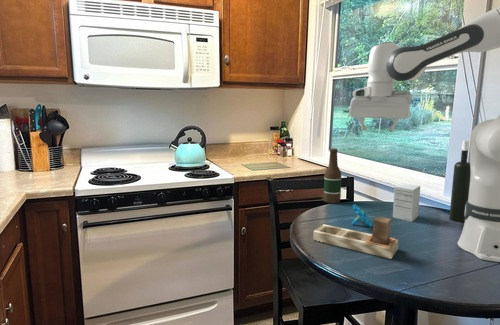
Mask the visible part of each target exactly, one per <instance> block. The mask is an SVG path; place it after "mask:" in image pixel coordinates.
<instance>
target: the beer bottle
mask: <svg viewBox="0 0 500 325" xmlns="http://www.w3.org/2000/svg"><path fill="white" fill-rule="evenodd" d="M338 152H339V150H338V148H329V161H328V167H327V168H326V170H325V172H324V176H323V178H324V180H323V202H324V203H327V204H340V202H341V196H342V193H341V192H342V172H341V171H342V170H340V168H339V165H338Z"/></svg>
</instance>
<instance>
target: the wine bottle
mask: <svg viewBox="0 0 500 325" xmlns="http://www.w3.org/2000/svg"><path fill="white" fill-rule="evenodd" d="M469 149H470V141H468V140H462V143H461V154H460V161H458V162H456V163H455V164H454V166H453V177H452V184H451V185H452V186H451V195H450V196H451V197H450V207H449V208H450V209H449V221H453V222H456V223H457V222H458V223H465V216H464V215H465V205H466V202H467V200H468V197H469V187H470V176H471V170H470V162H469V161H468V156H469V151H470V150H469Z"/></svg>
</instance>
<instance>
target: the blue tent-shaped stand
mask: <svg viewBox="0 0 500 325" xmlns="http://www.w3.org/2000/svg"><path fill="white" fill-rule="evenodd" d="M352 209H353V210H354V211H355V213H356V215H357V217H356V218H355V219H354V220H353V221H352V222H351V225H352V226H354V225H355V224H357V223H358V222H359V221H364V223H365V225H368V226H369V228H373V221H371V219H370V218H369V216H367V215H366V213H365V210H362V209H361V208H360V207H358V205H357V204H352Z"/></svg>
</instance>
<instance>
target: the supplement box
mask: <svg viewBox="0 0 500 325" xmlns="http://www.w3.org/2000/svg"><path fill="white" fill-rule="evenodd" d="M420 197H421V185H417V184H411V183H403V182H401V183H398V184H396V185H394V193H393V206H392V218H393V219H394V218H395V219H398V220H402V221H408V222H411V223H412V222H413V221H415V220H416V219H418V218H419V210H420Z"/></svg>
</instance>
